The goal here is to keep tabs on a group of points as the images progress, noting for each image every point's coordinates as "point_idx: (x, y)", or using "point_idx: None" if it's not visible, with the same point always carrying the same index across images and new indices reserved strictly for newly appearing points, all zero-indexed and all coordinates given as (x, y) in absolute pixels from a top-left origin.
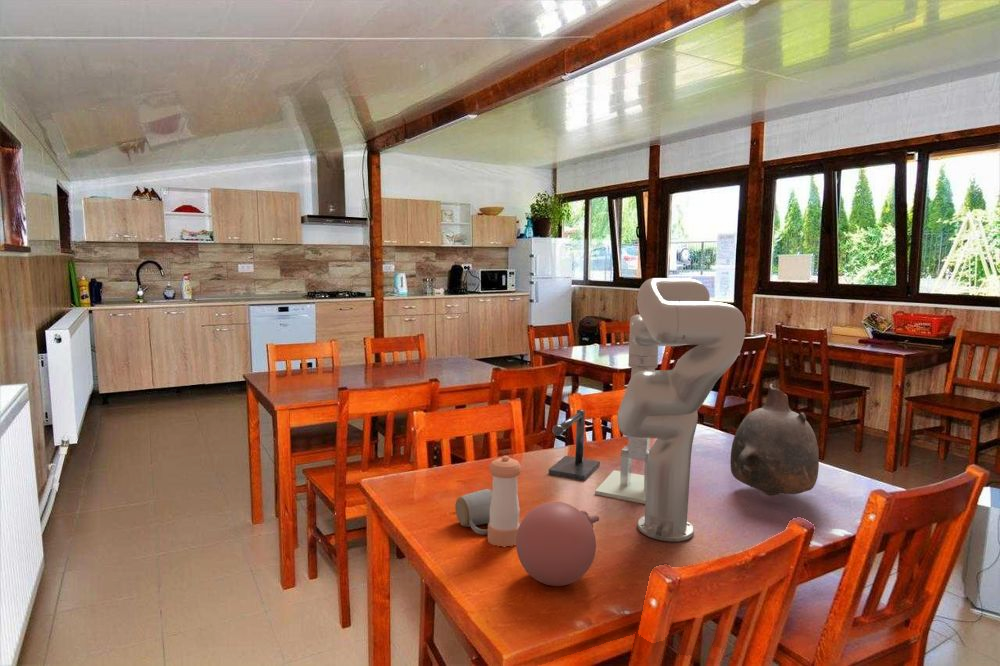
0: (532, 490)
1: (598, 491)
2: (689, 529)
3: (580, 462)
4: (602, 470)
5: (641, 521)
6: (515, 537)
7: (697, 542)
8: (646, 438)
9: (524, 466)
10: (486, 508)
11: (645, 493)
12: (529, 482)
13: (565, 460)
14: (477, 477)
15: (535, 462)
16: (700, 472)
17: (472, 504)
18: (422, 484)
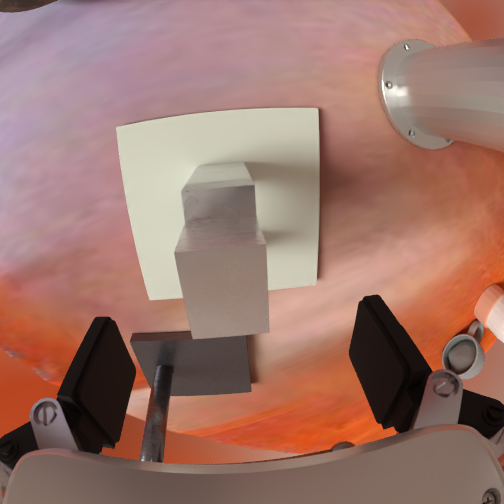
0: (341, 366)
1: (316, 277)
2: (424, 47)
3: (169, 368)
4: (151, 321)
5: (435, 142)
6: (502, 289)
7: (435, 38)
8: (253, 251)
9: (236, 416)
10: (480, 347)
11: (270, 170)
12: (307, 385)
13: (180, 389)
14: (319, 425)
15: (205, 413)
16: (14, 120)
17: (484, 358)
18: (363, 435)
